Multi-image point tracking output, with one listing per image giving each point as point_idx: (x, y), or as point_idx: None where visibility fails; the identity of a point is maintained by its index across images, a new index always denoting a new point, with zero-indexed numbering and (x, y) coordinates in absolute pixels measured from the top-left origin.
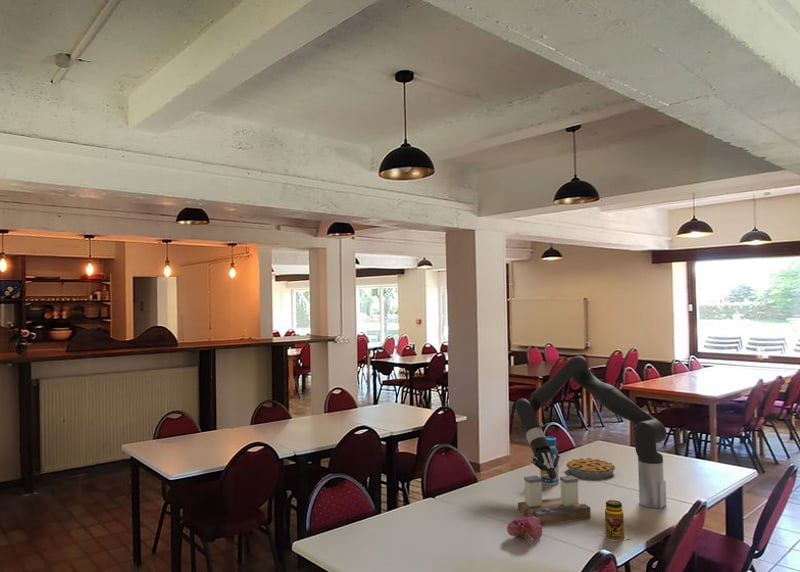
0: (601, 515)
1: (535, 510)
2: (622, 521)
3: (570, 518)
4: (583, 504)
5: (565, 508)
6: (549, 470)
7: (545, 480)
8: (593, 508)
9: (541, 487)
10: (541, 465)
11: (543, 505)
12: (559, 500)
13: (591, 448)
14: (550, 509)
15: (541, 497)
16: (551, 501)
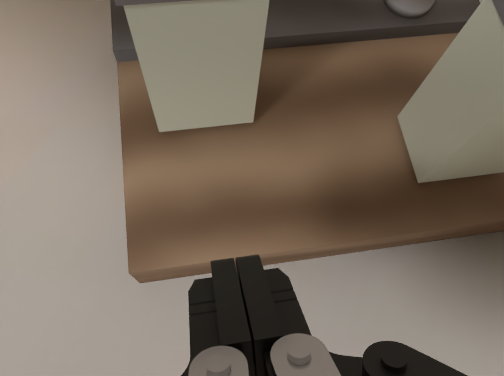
0: (39, 60)
1: (470, 15)
2: None
3: None
4: (125, 40)
5: (277, 7)
6: (284, 332)
7: None
8: (9, 168)
9: (461, 29)
10: (456, 372)
11: (383, 126)
12: (233, 196)
13: None
14: (375, 10)
15: (423, 85)
16: (301, 187)
